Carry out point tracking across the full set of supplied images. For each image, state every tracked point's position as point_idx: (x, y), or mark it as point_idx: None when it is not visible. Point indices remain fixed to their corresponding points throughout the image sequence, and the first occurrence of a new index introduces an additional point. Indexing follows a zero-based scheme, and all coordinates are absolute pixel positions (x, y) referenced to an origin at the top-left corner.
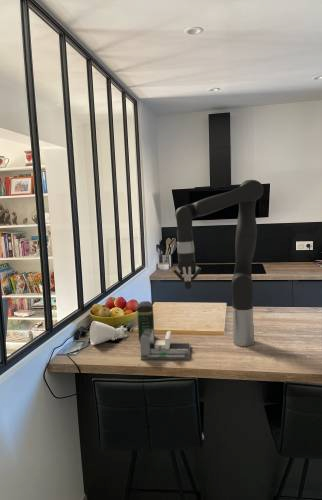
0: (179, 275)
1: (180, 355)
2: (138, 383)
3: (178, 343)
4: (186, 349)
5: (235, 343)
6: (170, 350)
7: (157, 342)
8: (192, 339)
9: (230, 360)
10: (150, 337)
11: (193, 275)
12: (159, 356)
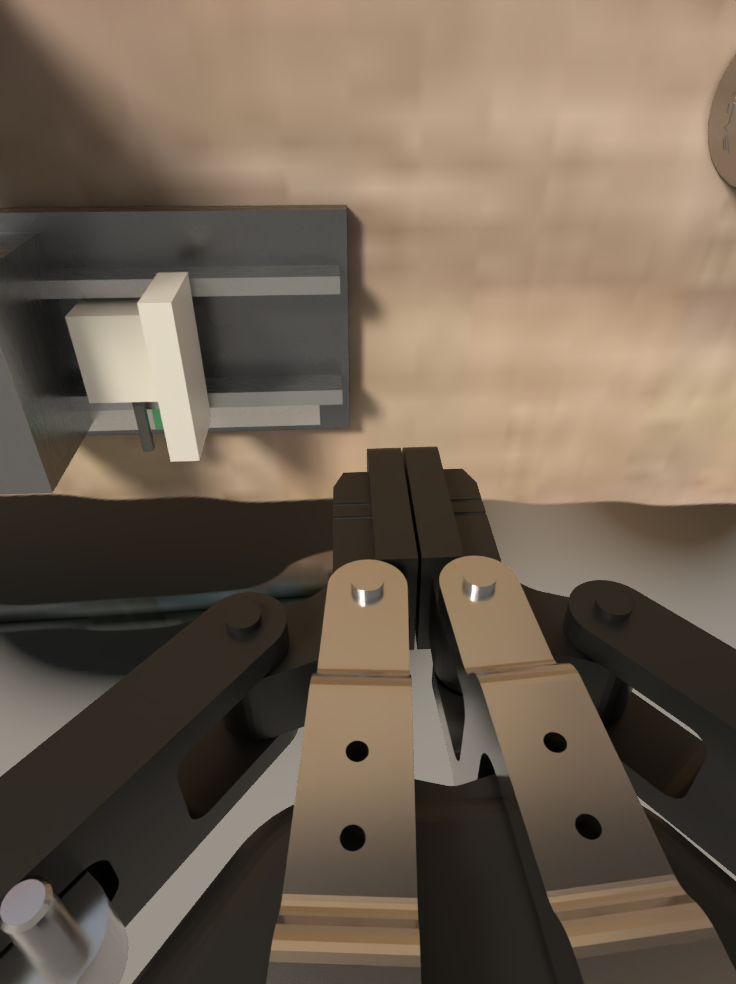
0: (183, 831)
1: (293, 408)
2: (145, 627)
3: (256, 294)
4: (332, 399)
5: (715, 156)
6: (220, 404)
7: (94, 361)
8: (350, 7)
9: (593, 409)
10: (38, 429)
11: (627, 678)
12: (158, 428)
